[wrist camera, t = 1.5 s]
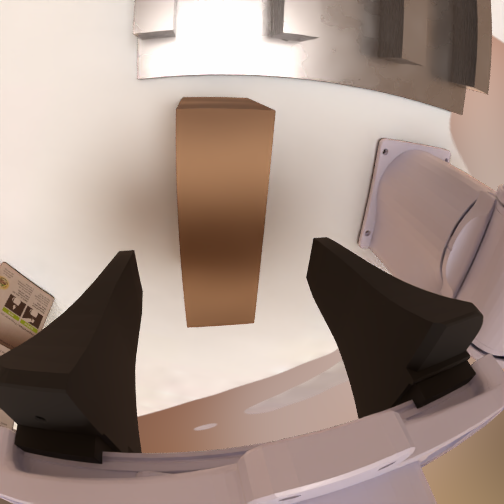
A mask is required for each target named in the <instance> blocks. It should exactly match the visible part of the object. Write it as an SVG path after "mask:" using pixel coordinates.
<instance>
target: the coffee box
mask: <svg viewBox="0 0 504 504" xmlns="http://www.w3.org/2000/svg"><path fill="white" fill-rule="evenodd" d="M53 301H54V298H53V297H52V296H50V295H49V294H47V293H46V292H44V291H43V290H41V289H40V288H38V287H37V286H36V285H34V284H33V283H32V282H30V281H29V280H27V279H26V278H25V277H23V276H22V275H21V274H19V273H18V272H17V271H15V270H14V269H13V268H12V267H10V266H9V265H8V264H6V263H2V264H1V266H0V356H1V355H3V354H4V353H6V352H8V351H10V350H12V349H13V348H15V347H17V346H19V345H20V344H22V343H24V342H25V341H27V340H28V339H30V338H31V337H33V336H34V335H36V334H37V333H39V332H40V331H42V328H43V326H44V323H45V320H46V318H47V316H48V313H49V311H50V308H51V306H52V304H53ZM13 425H14V421H13V420H12V419H11V418H10V417H9V416H8V415H7V414H6V413H5V412H4V411H3V410H2V409H1V408H0V426H2V427H6V428H9V429H11V430H13Z"/></svg>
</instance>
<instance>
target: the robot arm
mask: <svg viewBox="0 0 504 504" xmlns="http://www.w3.org/2000/svg"><path fill="white" fill-rule="evenodd" d="M384 149H385V153H384V154H383V150H384ZM450 156H451V154H450V151H448V150H446V149H442V148H438V147H433V146H428V145H423V144H417V143H412V142H406V141H400V140H393V139H387V138H383V139H381V140H380V142H379V146H378V152H377V157H376V163H375V168H374V174H373V179H372V184H371V189H370V194H369V198H368V203H367V208H366V212H365V216H364V221H363V225H362V229H361V233H360V237H359V241H358V244H359V246H360V247H361V248H370V249H371V250H372V251H373V252H374V254H375V255H376V256H377V257H378V258H379V260H380V261H381V262H382V263H383V264H384V266H385V267H386V268H387V269H388V270H389V272H390V273H391V274H392V275H393V276H392V275H390V274H388V273H386V272H384V271H382V270H381V269H379V268H377V267H375V266H374V265H372V264H370V263H369V262H367V261H365V260H364V259H362V258H361V257H359V256H357V255H356V254H354V253H353V252H351V251H349V250H348V249H346V248H345V247H343V246H341V245H340V244H338V243H336V242H335V241H333V240H331V239H329V238H327V237H325V238H314V239H313V244H312V250H311V255H310V261H309V266H308V271H307V277H306V278H307V281H308V284H309V287H310V290H311V293H312V295H313V298H314V300H315V302H316V304H317V306H318V308H319V310H320V312H321V314H322V315H323V317H324V319H325V321H326V323H327V325H328V327H329V329H330V331H331V333H332V335H333V337H334V339H335V341H336V343H337V346H338V348H339V351H340V354H341V356H342V359H343V362H344V365H345V368H346V371H347V375H348V378H349V381H350V385H351V388H352V392H353V395H354V400H355V404H356V409H357V413H358V418H359V419H357V420H354V421H350V422H347V423H344V424H340V425H337V426H334V427H330V428H326V429H323V430H319V431H315V432H311V433H307V434H303V435H298V436H294V437H289V438H284V439H281V440H278V441H272V442H267V443H262V444H255V445H249V446H242V447H234V448H227V449H217V450H207V451H195V452H178V453H142V452H141V445H140V438H139V431H138V421H137V409H136V390H135V364H136V353H137V345H138V338H139V331H140V323H141V316H142V294H143V291H142V286H141V282H140V277H139V272H138V268H137V263H136V258H135V252H134V250H131V251H119V252H118V253H117V255H116V256H115V257H114V258H113V259H112V261H111V262H110V263H109V264H108V265H107V267H106V268H105V269H104V270H103V272H102V273H101V274H100V275H99V276H98V278H97V279H96V280H95V281H94V282H93V283H92V284H91V285H90V287H89V288H88V289H87V290H86V291H85V292H84V293H83V294H82V295H81V297H80V298H79V299H78V300H77V301H76V302H75V303H74V304H73V305H71V306H70V307H69V308H68V309H67V310H66V311H65V312H64V313H63V314H62V315H60V316H59V317H58V318H57V319H55V320H54V321H53V322H52V323H50V324H49V325H48V326H47V327H46V328H44V329H43V330H42V331H40V332H39V333H37V334H36V335H34V336H33V337H31V338H30V339H28V340H27V341H25V342H24V343H22V344H20V345H19V346H17V347H15V348H13V349H12V350H10V351H8V352H6V353H4V354H3V355H1V356H0V408H1V409H2V410H3V411H4V412H5V413H6V414H7V415H8V416H9V417H10V418H11V419H12V420H13V421H14V422H16V423H17V424H18V425H17V431H16V432H15V431H13V430H11V429H9V428H6V427H2V426H0V498H2V499H4V500H7V501H9V502H11V503H13V504H437V503H436V500H435V498H434V496H433V493H432V491H431V489H430V486H429V484H428V482H427V480H426V478H425V476H424V473H423V471H422V469H421V468H422V467H423V466H425V465H427V464H429V463H430V462H432V461H434V460H435V459H437V458H439V457H440V456H442V455H444V454H445V453H447V452H448V451H450V450H451V449H453V448H454V447H456V446H457V445H459V444H460V443H462V442H463V441H465V440H466V439H468V438H469V437H470V436H472V435H473V434H475V433H476V432H477V431H479V430H480V429H481V428H483V427H484V426H485V425H487V424H488V423H489V422H490V421H491V420H492V419H494V418H495V417H496V416H497V415H498V414H499V413H500V412H501V411H502V410H503V409H504V371H503V369H504V184H501V185H499V186H498V189H497V192H496V191H494V190H493V189H491V188H490V187H488V186H487V185H485V184H483V183H482V182H480V181H479V180H477V179H475V178H474V177H472V176H470V175H469V174H467V173H465V172H463V171H462V170H460V169H458V168H456V167H455V166H453V165H451V164H449V161H450ZM444 160H445V161H444ZM366 231H368V232H367V233H366ZM365 233H366V234H365ZM470 357H472V358H473V359H475V360H477V361H475V362H474V363H473V364H472V365H470V364H469V362H468V361H467V360H468V359H469V358H470Z"/></svg>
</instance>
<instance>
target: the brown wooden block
mask: <svg viewBox="0 0 504 504" xmlns="http://www.w3.org/2000/svg"><path fill="white" fill-rule="evenodd" d="M274 121H275V110H273V109H271V108H268V107H266V106H264V105H262V104H260V103H257V102H255V101H253V100H251V99H248V98H232V97H183V98H182V100H181V101H180V103H179V105H178V107H177V108H176V174H177V204H178V224H179V241H180V255H181V268H182V280H183V291H184V302H185V311H186V321H187V327H206V326H222V325H236V324H249V323H254V319H255V310H256V301H257V291H258V282H259V272H260V263H261V253H262V244H263V234H264V224H265V214H266V204H267V194H268V184H269V174H270V164H271V153H272V143H273V132H274Z"/></svg>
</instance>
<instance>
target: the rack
mask: <svg viewBox="0 0 504 504" xmlns="http://www.w3.org/2000/svg"><path fill="white" fill-rule="evenodd" d="M133 34H134V35H135V36H137V37H138V79H144V78H153V77H165V76H179V75H202V74H243V75H266V76H280V77H292V78H302V79H310V80H318V81H326V82H332V83H339V84H345V85H351V86H356V87H361V88H366V89H371V90H376V91H381V92H385V93H389V94H393V95H398V96H401V97H405V98H409V99H413V100H416V101H420V102H423V103H427V104H430V105H433V106H436V107H440V108H443V109H446V110H449V111H452V112H455V113H457V114H461V115H462V114H463V107H464V100H465V93H466V89H470V90H473V91H477V92H481V93H484V94H488V90H489V89H488V88H489V79H490V67H491V47H492V18H491V0H135V6H134V23H133Z"/></svg>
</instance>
